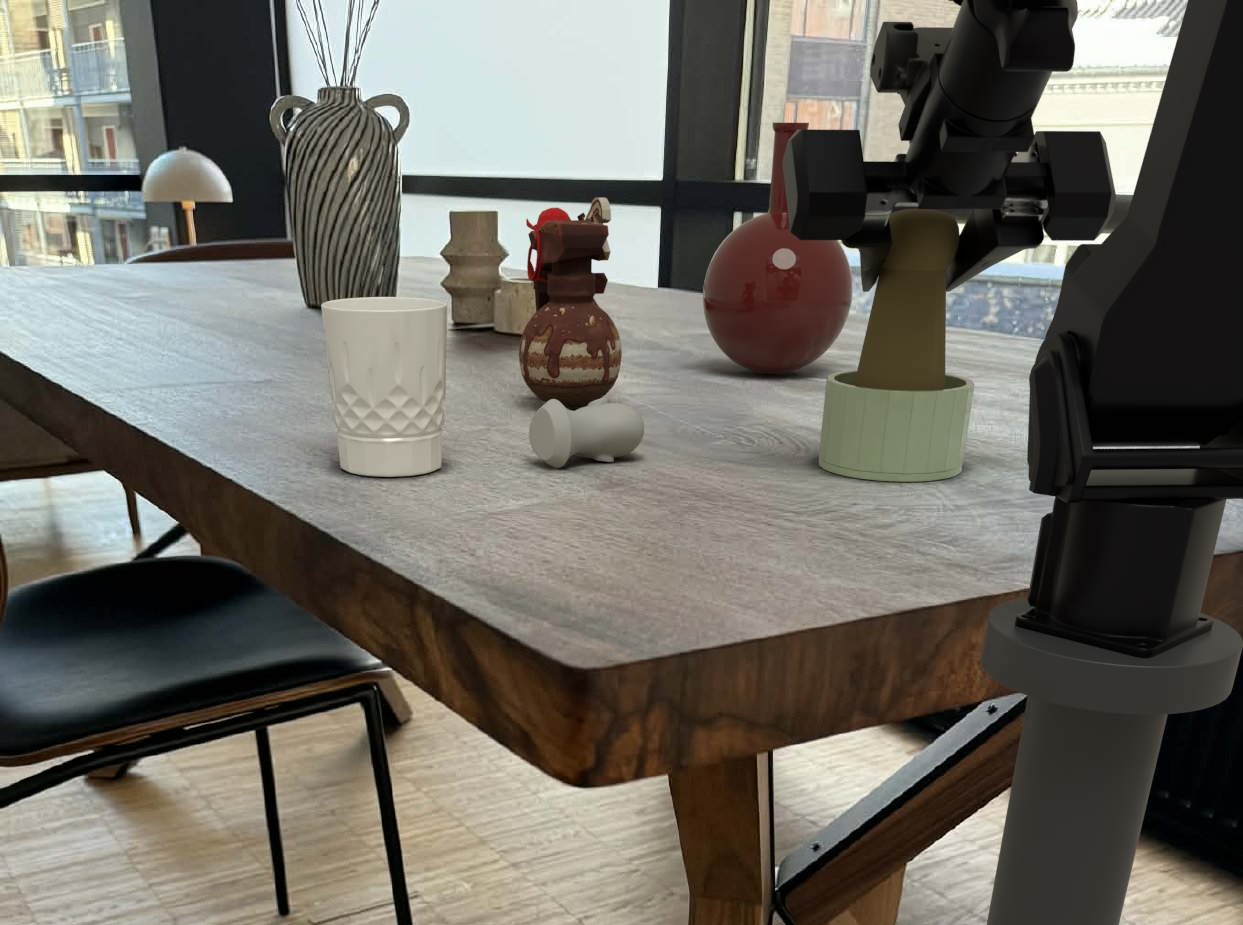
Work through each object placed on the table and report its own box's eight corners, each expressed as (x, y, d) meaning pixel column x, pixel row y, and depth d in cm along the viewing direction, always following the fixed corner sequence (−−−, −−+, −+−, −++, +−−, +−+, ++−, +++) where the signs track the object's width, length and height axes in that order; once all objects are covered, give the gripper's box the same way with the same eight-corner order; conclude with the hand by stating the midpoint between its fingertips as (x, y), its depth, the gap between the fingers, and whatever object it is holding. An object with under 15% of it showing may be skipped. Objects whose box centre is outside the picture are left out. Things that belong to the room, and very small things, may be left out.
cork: (836, 391, 97) (854, 207, 91) (919, 389, 98) (942, 207, 93) (875, 405, 91) (896, 211, 86) (962, 403, 93) (988, 211, 87)
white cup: (341, 482, 92) (330, 312, 87) (323, 458, 98) (313, 298, 93) (462, 476, 94) (459, 308, 89) (437, 452, 100) (433, 295, 95)
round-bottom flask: (671, 368, 134) (682, 121, 125) (785, 359, 140) (805, 122, 130) (753, 389, 124) (773, 122, 115) (874, 378, 130) (902, 123, 120)
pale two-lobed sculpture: (619, 467, 102) (657, 457, 97) (518, 476, 98) (553, 465, 94) (612, 403, 101) (651, 389, 96) (510, 409, 97) (545, 395, 93)
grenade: (501, 399, 119) (500, 195, 112) (594, 394, 122) (598, 194, 114) (537, 419, 112) (538, 201, 104) (635, 413, 114) (643, 200, 106)
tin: (988, 467, 97) (1002, 380, 94) (908, 488, 91) (920, 396, 89) (872, 447, 103) (881, 364, 100) (789, 465, 97) (797, 378, 94)
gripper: (1135, -35, 80) (1029, 183, 95) (805, -40, 79) (750, 182, 94) (1168, 126, 77) (1054, 326, 92) (825, 124, 76) (765, 326, 91)
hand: (905, 285), depth 93 cm, fingers closed on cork, 5 cm apart
